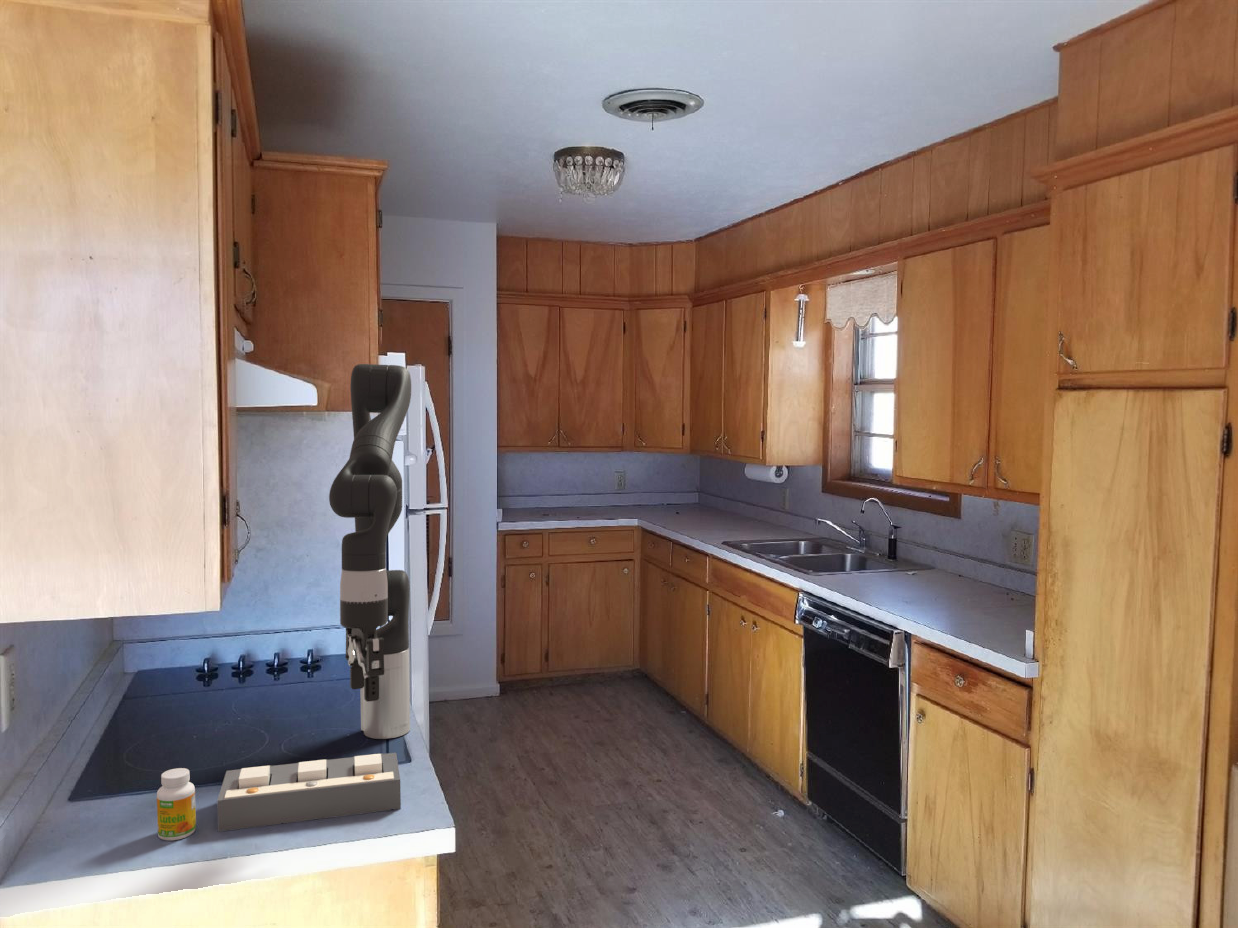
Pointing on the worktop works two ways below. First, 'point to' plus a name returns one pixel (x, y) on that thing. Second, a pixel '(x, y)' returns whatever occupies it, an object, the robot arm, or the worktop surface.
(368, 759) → the far key
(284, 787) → the button board
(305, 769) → the middle key
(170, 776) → the supplement bottle
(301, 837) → the worktop surface
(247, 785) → the near key
